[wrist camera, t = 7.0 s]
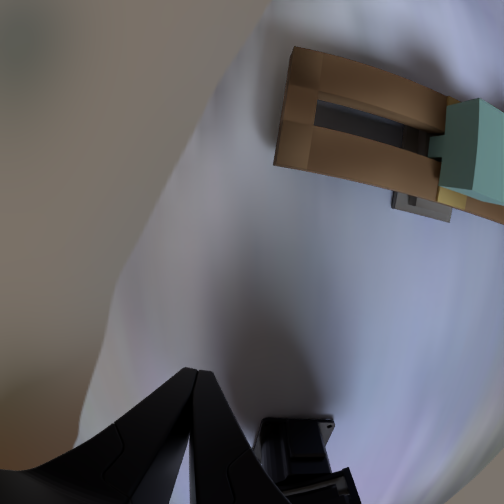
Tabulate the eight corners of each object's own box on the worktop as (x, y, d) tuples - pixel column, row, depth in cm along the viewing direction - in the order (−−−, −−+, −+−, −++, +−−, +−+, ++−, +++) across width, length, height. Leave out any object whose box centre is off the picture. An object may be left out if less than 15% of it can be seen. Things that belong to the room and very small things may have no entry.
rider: (464, 197, 17) (515, 208, 12) (421, 183, 17) (472, 190, 12) (472, 130, 16) (522, 125, 11) (429, 110, 16) (479, 97, 11)
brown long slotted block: (508, 240, 20) (557, 259, 14) (268, 183, 19) (278, 188, 13) (521, 144, 18) (571, 145, 12) (288, 51, 16) (306, 4, 10)
